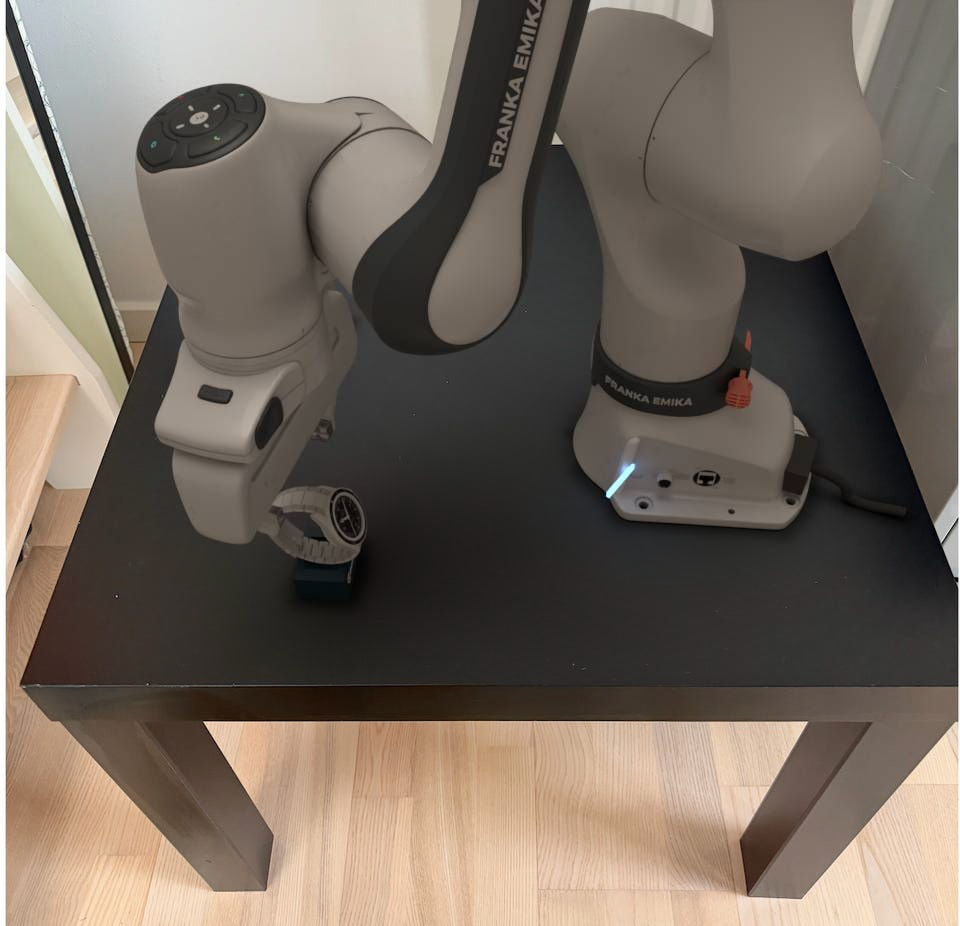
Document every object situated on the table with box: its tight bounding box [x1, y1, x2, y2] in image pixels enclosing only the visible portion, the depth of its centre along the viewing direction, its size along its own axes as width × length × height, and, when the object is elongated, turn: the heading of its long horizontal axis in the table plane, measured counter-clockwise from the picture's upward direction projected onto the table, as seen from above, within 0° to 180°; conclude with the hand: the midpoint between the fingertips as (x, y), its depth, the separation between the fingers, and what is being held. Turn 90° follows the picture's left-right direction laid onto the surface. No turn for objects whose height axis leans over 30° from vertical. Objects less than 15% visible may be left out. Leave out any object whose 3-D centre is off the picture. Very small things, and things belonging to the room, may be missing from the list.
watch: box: [268, 484, 368, 602], centre depth 76 cm, size 6×8×11 cm
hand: (298, 478), depth 70 cm, fingers open, 8 cm apart
